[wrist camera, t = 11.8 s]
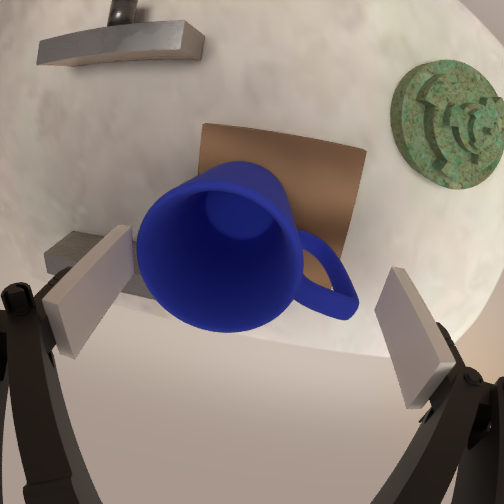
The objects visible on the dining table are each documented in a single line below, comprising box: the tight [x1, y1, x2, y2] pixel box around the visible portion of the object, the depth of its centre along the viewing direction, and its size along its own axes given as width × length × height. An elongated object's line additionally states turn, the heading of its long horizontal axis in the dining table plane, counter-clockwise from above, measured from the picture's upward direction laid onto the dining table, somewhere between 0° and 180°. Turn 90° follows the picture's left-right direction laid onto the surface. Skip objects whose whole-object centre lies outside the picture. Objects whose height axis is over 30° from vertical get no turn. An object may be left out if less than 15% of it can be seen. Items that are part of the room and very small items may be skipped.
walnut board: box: [198, 123, 367, 290], centre depth 24 cm, size 12×12×1 cm
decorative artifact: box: [390, 60, 504, 189], centre depth 17 cm, size 10×7×10 cm
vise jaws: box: [37, 0, 205, 300], centre depth 21 cm, size 23×12×5 cm, turn 172°
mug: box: [136, 161, 359, 333], centre depth 19 cm, size 8×12×10 cm
